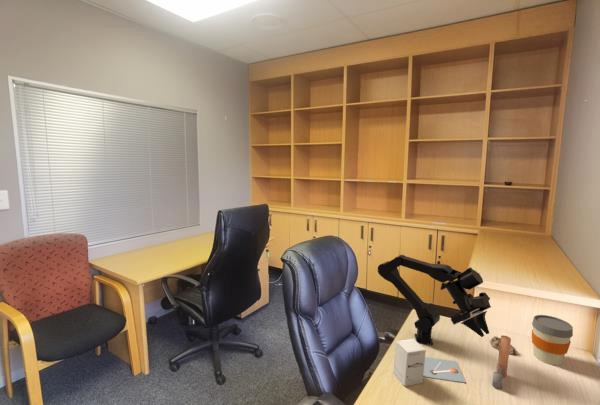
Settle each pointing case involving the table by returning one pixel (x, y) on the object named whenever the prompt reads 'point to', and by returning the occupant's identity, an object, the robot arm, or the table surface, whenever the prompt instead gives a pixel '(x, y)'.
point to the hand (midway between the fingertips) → (485, 335)
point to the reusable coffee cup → (550, 339)
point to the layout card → (442, 370)
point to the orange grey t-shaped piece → (502, 362)
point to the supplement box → (409, 362)
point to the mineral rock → (496, 344)
